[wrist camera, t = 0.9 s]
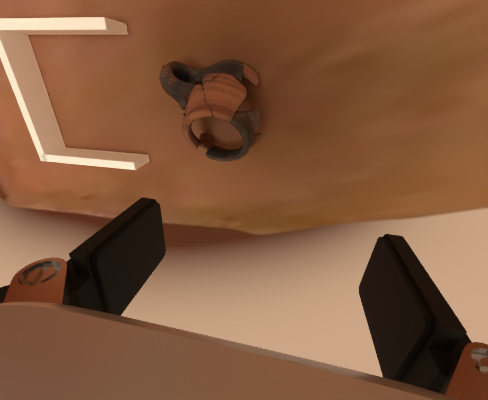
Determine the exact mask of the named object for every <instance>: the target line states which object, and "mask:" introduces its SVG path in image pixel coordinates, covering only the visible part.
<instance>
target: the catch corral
mask: <svg viewBox="0 0 488 400" xmlns="http://www.w3.org/2000/svg"><path fill="white" fill-rule="evenodd" d="M28 35H128V32H127V26H126V24H125V23H122V22H119V21H115V20H112V19H108V18H105V17H82V18H10V19H0V58H1V61H2V63H3V66H4V68H5V71H6V73H7V76H8V78H9V81H10V84H11V86H12V89H13V91H14V94H15V96H16V99H17V101H18V104H19V106H20V109H21V111H22V114H23V116H24V119H25V121H26V124H27V127H28V129H29V132H30V134H31V137H32V139H33V142H34V144H35V147H36V149H37V152H38V154H39V157H40V159H41V161H49V162H59V163H69V164H80V165H90V166H100V167H110V168H121V169H131V170H136V169H138V168H139V167H141V166H143V165H144V164H146V163H148V162H150V160H149V155H147V154H136V153H124V152H112V151H101V150H89V149H77V148H66V146H65V143H64V140H63V138H62V135H61V132H60V129H59V126H58V123H57V120H56V117H55V114H54V111H53V108H52V105H51V102H50V99H49V96H48V93H47V90H46V87H45V84H44V81H43V78H42V75H41V72H40V69H39V66H38V63H37V60H36V57H35V54H34V51H33V48H32V45H31V42H30V39H29V36H28Z"/></svg>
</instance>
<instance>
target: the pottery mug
mask: <svg viewBox="0 0 488 400" xmlns="http://www.w3.org/2000/svg"><path fill="white" fill-rule="evenodd" d="M242 76H243V77H245V78H246V79H247V80H249V81H250V82H251V83H252V84H253V85H254V86H257V85H258V83H259V81H258V74H257V73H256V72H255V71H254V70H253V69H252V68H251V67H249V66H248V65H246V64H243V63H242V62H239V61H235V60H224V61H221V62H218V63H217V64H215V65H213V66H210V67H208V68H206V69H204V70H203V71H202V70H197V69H193V68H191V67H189V66H187V65H185V64H183V63H180V62H174V61H172V62H169V63H167V64H166V65H163V66H162V70H161V74H160V82H161V85H162V87H163V89H164V90H165V91H166V92H167V93H168V94H169V95H170V96H171V97H173V98H174V99H175V100H176V101H177V102H178V103H179V105H180V107H181V109H183V110H184V109H185V112H186V114H185V113H184V114H183V120H184V121H183V134H184V137H185V139H186V141H187V142H188V143H189V145H190V146H191V147H192V148H193V149H195V150H196V149H197V148H198V147H199V145H200V146H201V147H203V148H205V149H207V150H208V151H207V152H206V156H207V157H208V158H210V159H213V160H218V161H233V160H237V159H240V158H241V157H243V156H245V155H246V154H247V152H248V150H249V148H250V147H252V146H253V145H254V144H255V143H256V141H257V140H258V139H259V138H260V136H261V135H262V134H261V133H258V134H253V133H254V132H255V131H256V129H257V127H258V122H259V119H260V117H261V114H260V110H259V108H258V107H257V106H255V107H254V108H253V109H252V110H251V111H250V110H249V111H244V112H242V111H237V109H238V108H239V107H240V105H241V103H242V102H243V101H244V99H245V98H246V97H247V91H246V88H245V87H244V86H243V85H242V84H241V83H242ZM201 81H202V84H200V83H201ZM203 117H214V118H219V119H222V120H224V121H226V122H228V123H231V124H232V125H233V126H234V127H235V128H236V129H237V130H238V131H239V132H240V134H241V136H242V138H243V145H242V147H241V148H239V149H232V150H227V149H223V148H221V147H218V146H216V145H214V141H213V137H212V136H210V135H208V134H204V133H201V134H200V136H199V137H200V139H198V138H197V137H196V136H195V134H194V133H193V132H192V129H191V125H192V122H193V121H195V120H196V119H199V118H203Z"/></svg>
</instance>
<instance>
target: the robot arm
mask: <svg viewBox="0 0 488 400" xmlns="http://www.w3.org/2000/svg"><path fill="white" fill-rule="evenodd" d="M165 251H166V250H165V241H164V233H163V225H162V217H161V209H160V204H159V203H157V201H156V200H155V199H149V198H140V199H139V200H138V201H137V202H135V203H134V204H133V205H131V206H130V207H129V208H128V209H126V210H125V211H124V212H122V213H121V214H120V215H118V216H117V217H116V218H115V219H113V220H112V221H111V222H109V223H108V224H107V225H106V226H104V227H103V228H102V229H101V230H99V231H98V232H96V233H95V234H94V235H93V236H91V237H90V238H89V239H87V240H86V241H85V242H84V243H82V244H81V245H80V246H78V247H77V248H76V249H75V250H73V251H72V252H71V253H69V255H70V258H71V259H70V260H68V261H67V262H66V261H65V260H64V259H61V258H46V259H42V260H39V261H35V262H33V263H31V264H29V265H27V266H25V267H24V268H22V269H21V270H20V271H18V272H17V273H16V274H15V275H14V277H13V279H12V280H11V283H10V285H8V286H4V287H1V288H0V400H488V345H487V344H484V343H478V342H473V343H472V342H471V341H470V339H469V337H468V336H467V334H466V333H467V332H466V330H465V329H464V327H463V326H462V324H461V322H460V321H459V319H458V318H457V316H456V315H455V314H454V312H453V310H452V309H451V307H450V306H449V304H448V303H447V302H446V300H445V299H444V297H443V296H442V294H441V293H440V291H439V290H438V288H437V287H436V285H435V284H434V282H433V281H432V279H431V278H430V276H429V275H428V273H427V272H426V270H425V269H424V267H423V266H422V264H421V263H420V261H419V260H418V258H417V257H416V255H415V254H414V252H413V251H412V249H411V248H410V246H409V245H408V243H407V242H406V241H405V239H404V238H403V237H402V236H397V235H390V234H385V235H384V236H383V237H379V238H378V240H377V242H376V245H375V247H374V250H373V252H372V255H371V258H370V260H369V262H368V265H367V268H366V270H365V272H364V275H363V278H362V280H361V283H360V285H359V295H360V298H361V302H362V305H363V309H364V312H365V316H366V319H367V323H368V326H369V329H370V333H371V336H372V340H373V343H374V347H375V350H376V354H377V357H378V360H379V364H380V367H381V371H382V374H383V377H379V376H375V375H370V374H366V373H363V372H359V371H355V370H351V369H347V368H342V367H338V366H334V365H330V364H326V363H321V362H317V361H313V360H309V359H305V358H301V357H296V356H292V355H288V354H283V353H279V352H275V351H271V350H267V349H263V348H258V347H254V346H250V345H245V344H241V343H237V342H232V341H228V340H223V339H220V338H215V337H211V336H207V335H202V334H198V333H194V332H189V331H185V330H181V329H176V328H171V327H167V326H163V325H158V324H153V323H149V322H145V321H141V320H136V319H132V318H127V317H123V316H121V314H122V313H123V311H124V310H125V309H126V307H127V306H128V305H129V303H130V302H131V301H132V299H133V298H134V297H135V295H136V294H137V293H138V291H139V290H140V289H141V287H142V286H143V285H144V283H145V282H146V280H147V279H148V278H149V276H150V275H151V274H152V272H153V271H154V270H155V268H156V267H157V266H158V264H159V263H160V262H161V260H162V259H163V257H164V255H165Z"/></svg>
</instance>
